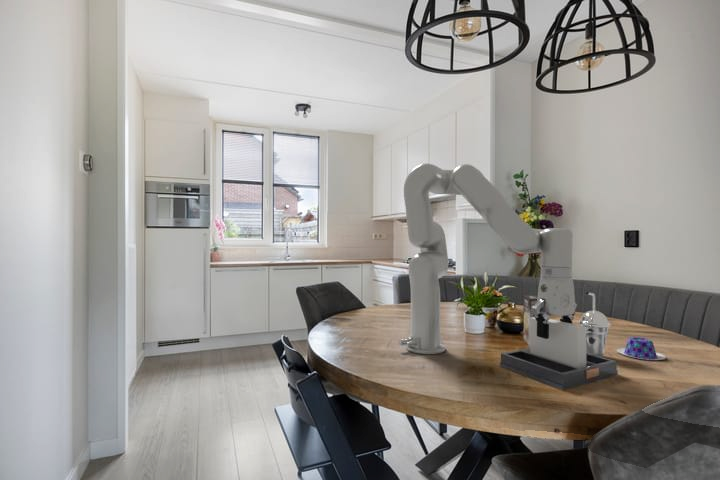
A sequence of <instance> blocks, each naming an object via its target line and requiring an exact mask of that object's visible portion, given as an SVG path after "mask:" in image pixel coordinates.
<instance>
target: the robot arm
mask: <svg viewBox="0 0 720 480" xmlns="http://www.w3.org/2000/svg"><path fill="white" fill-rule="evenodd" d="M404 180H405V181H404V183H403V198H404V199H403V200H404V205H405V216H406V224H407V225H406V226H407V235H408V241H409V243H410V244H411V245H412V246H413V247H415V248H419V249H420V252H418V253H417V254H415V255H413V256H412V258H411V259H410V261H409V263H408V270H407V271H408V278H409V284H410V285H409V286H410V287H409V288H410V334H408V335H407V337H406V338H400V339H398V341H397V344H398V346H399V347H401V346H405V349H407V351H408V352H412V353H414V354H420V355H438V354H442V353H444V352H445V351H446V345H445V344H443V343H441V288H440V282H439V279H441V278H443V277H444V276H445V275H446V273H448V268H449V256H448V255H449V254H448V249H447V247H448V246H447V241H446V233H445V231H444V228H443V227H442V226H441V224H440V223H439V222H437V221H434V217H433V209H432V203H431V199H430V196H429V195H430V194H429V193H432V194H434V195H451V196H453V195H454V196H462V197H463V198H464V199H465V200H466V202H468V203H469V204H470V205H471V207H473V209H475V211H476V212H477V213H478V214H479V215H480V216H481V218H482V219H483V220H484V221H485V222H486V223H487V225H489V227H490V228H491V229H492V230H493V231H494V233H496V235H498V237H499V238H500V240H502V241H503V242H504V243H505V244H506V245H507V246H508V247H509V248H510V249H511V250H512V251H514V252H515V253H517V254H520V255H528V254H537V253H540V277H539V284H538V290H537V296H538V299H537V303H536V304H535V305H534V306H533V307H532V311H533V314H534V317H535V321H536V322H537V336H538V337H541V338H545V339H548V338H549V324H547V322H548V321H549V319H551V317H553V318H557V317H559V318H560V317H561V318H560V319H559V321H561V322H566V323H571V324H573V321H574V316H575V314H576V309H577V305H578V304H577V303H576V295H575V294H576V293H575V285H574V280H573V278H572V276H573V272H572V271H573V241H574V240H573V239H574V238H573V231H572V230H571V229H569V228H565V227H562V228H561V227H560V228H559V227H553V228H552V227H551V228H544V229H542V228H532V227H531V226H530V225H529V224H528V223H527V222H526V221H525V220H524V219H523V218H522V217H521V216H520V215H519V214H518V213H517V212H516V211H515V209H513V208H512V207H511V205H510V204H509V202H508V200H507V199H506V197H505V196H504V194H502V192H501V191H499V190H498V188H496V187H495V186H494V185H493V184H492V183H491V182H490V181H489V180H488V179H487V178H486V177H485V175H484V174H483V173H482V171H481V170H480V169H478V168H476V167H475V166H474V165H472V164H465V163H464V164H461V165H459V166H456V167H455V169H442V168H441V167H439V166H437V165H435V164H432V163H421V164H419V165H416V166H415V167H414V168H413V169H412V170H410V172H409V173H408V175H407V176H406V178H405V179H404ZM543 315H544V316H545V318H544V317H543Z"/></svg>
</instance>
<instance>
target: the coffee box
mask: <svg viewBox="0 0 720 480" xmlns="http://www.w3.org/2000/svg"><path fill="white" fill-rule="evenodd" d="M537 299H538V295H523V340H524V342H526V343H527V345H528V346H529V347H530V318H532V317H534V314H533V311H532V307H533V306H534V305H535V304H536V303H537ZM543 317H544V318H545V316H544V315H543Z"/></svg>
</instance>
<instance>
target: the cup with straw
mask: <svg viewBox="0 0 720 480" xmlns="http://www.w3.org/2000/svg"><path fill="white" fill-rule="evenodd" d="M585 293H586V295H589V296H592V310H588V311H586V312H584V313H583V314H582V316H581V318H579V319H578V325H581V326H586V353H588V354H592V355H595V356H599V357H603V358H604V354H605V348H606V340H607V335H608V331H609V327H610V328H611V327H612V324H611V322H610V321H609V320H608V318H607V316H606V315H605V314H604V313H602V312H600V311H598V310H596V295H595V293H593V292H589V291H587V292H585Z"/></svg>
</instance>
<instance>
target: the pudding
mask: <svg viewBox="0 0 720 480" xmlns="http://www.w3.org/2000/svg"><path fill="white" fill-rule="evenodd" d="M616 352H617V353H619V354H621V355H624V356H627V357H630V358H634V359H639V360H646V361H647V360H648V361H662V360H666V358H667V357H666V355H664V354H662V353H659V352H656V349H655V345H654V342H653V341H652V340H651V339H648V338H645V337H638V336H637V337H636V336H632V337H629V338H628V339H627V342H626V345H625V347H621V348H618V349H616Z"/></svg>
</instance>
